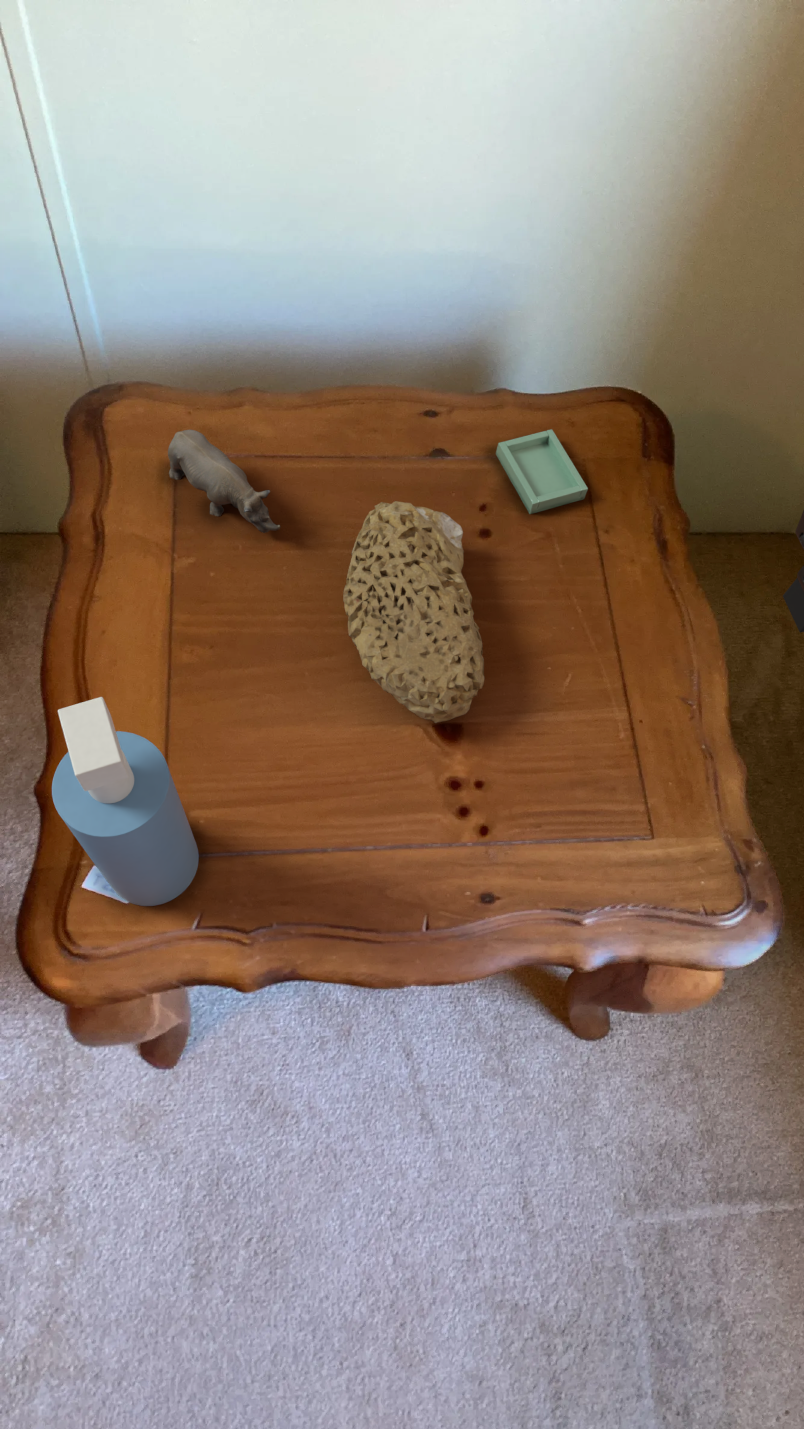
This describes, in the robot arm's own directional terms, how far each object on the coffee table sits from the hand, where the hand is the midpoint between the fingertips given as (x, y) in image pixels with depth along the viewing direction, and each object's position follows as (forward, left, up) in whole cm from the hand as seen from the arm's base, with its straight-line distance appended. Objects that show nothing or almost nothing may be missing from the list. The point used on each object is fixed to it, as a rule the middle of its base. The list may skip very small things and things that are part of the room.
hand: (802, 611), depth 57 cm
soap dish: (+32, -3, -24) cm, 40 cm away
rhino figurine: (+38, +27, -24) cm, 52 cm away
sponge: (+20, +16, -24) cm, 35 cm away
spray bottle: (+7, +43, -24) cm, 49 cm away
